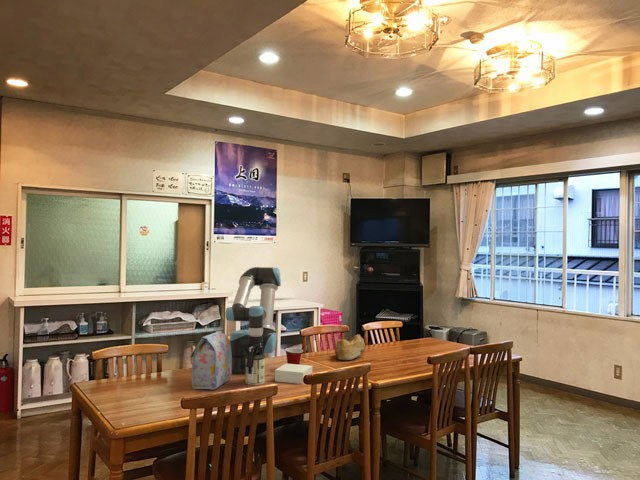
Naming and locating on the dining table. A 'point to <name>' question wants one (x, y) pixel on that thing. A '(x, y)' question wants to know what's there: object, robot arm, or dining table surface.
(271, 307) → the robot arm
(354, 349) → the rough brown rock
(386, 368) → the dining table surface
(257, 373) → the coffee can
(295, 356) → the plastic cup
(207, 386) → the lunch bag
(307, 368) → the white square box
